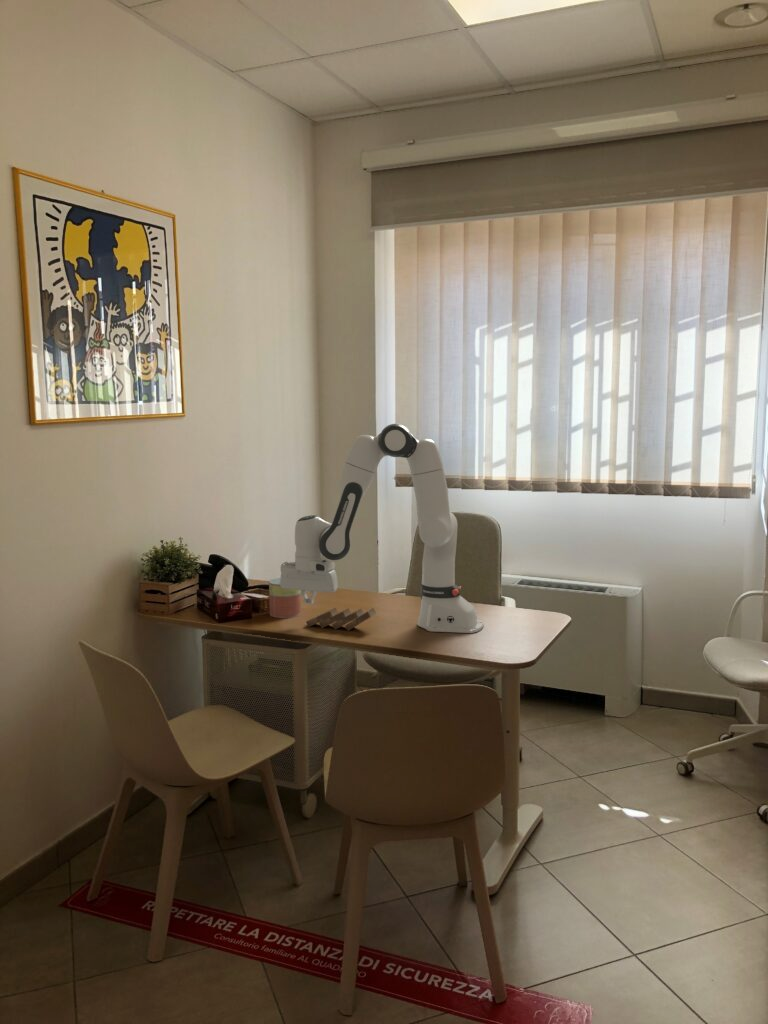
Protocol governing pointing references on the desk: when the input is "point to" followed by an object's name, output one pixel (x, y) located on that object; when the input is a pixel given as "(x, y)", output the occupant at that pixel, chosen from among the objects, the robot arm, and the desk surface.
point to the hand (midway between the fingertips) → (308, 603)
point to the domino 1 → (322, 617)
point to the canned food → (284, 600)
